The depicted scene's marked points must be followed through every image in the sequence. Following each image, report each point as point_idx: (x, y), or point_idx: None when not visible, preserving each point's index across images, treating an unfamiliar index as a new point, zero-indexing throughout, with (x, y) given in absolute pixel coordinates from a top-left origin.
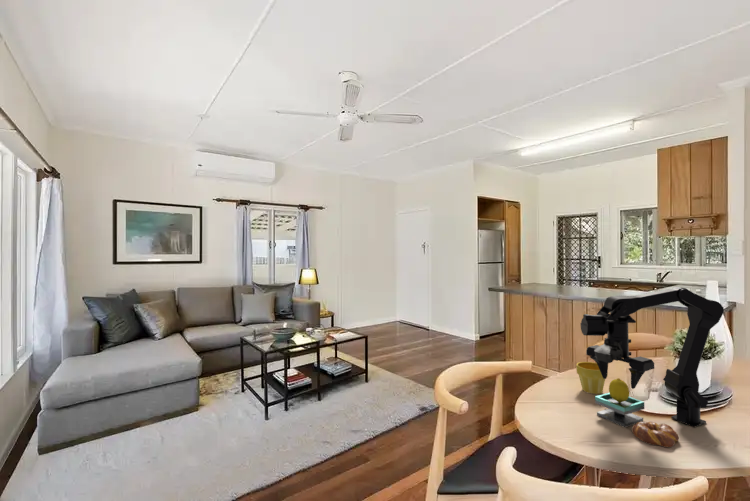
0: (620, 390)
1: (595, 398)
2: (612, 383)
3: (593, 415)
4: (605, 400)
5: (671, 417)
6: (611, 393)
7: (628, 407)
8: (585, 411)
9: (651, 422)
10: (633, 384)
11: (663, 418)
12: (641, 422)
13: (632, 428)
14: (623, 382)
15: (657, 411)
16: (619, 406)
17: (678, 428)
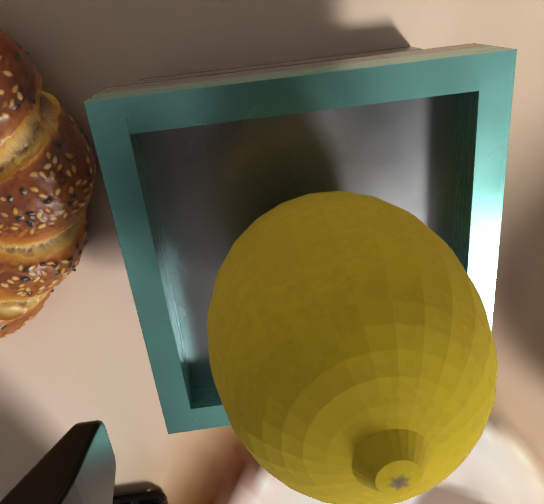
0: (246, 284)
1: (498, 49)
2: (412, 299)
3: (423, 7)
4: (362, 74)
5: (160, 496)
6: (362, 197)
7: (105, 183)
8: (515, 4)
9: (8, 269)
10: (6, 495)
11: (181, 455)
12: (19, 184)
13: (4, 46)
14: (288, 458)
15: (269, 496)
16: (154, 93)
17: (40, 427)
